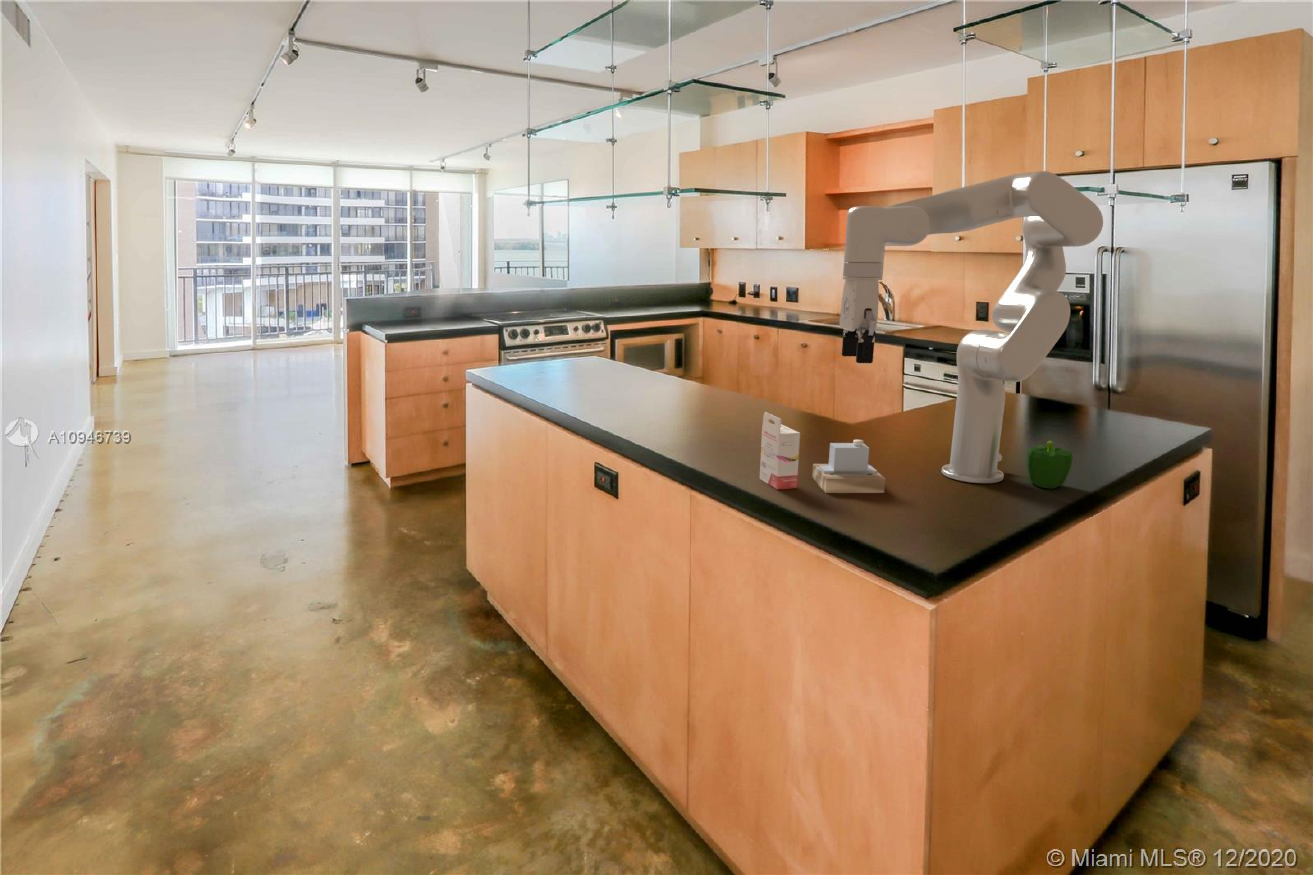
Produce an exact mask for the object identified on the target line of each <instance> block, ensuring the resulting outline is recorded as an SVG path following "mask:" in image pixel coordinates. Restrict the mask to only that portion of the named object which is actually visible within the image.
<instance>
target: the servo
mask: <svg viewBox="0 0 1313 875" xmlns="http://www.w3.org/2000/svg"><path fill="white" fill-rule="evenodd" d="M869 455H870V447H869V446H867V445H866V444H865V443H864V440H863V439H853V442H830V443H829V455H828V457H829V458H828V464H829V466H819V469H820V470H821V471H822V472H823V473H824V474H830V475H867V474H877V472H878V470H877V469H876V468H874V467H873V465H870V466H868V464H869V457H870V456H869Z"/></svg>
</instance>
